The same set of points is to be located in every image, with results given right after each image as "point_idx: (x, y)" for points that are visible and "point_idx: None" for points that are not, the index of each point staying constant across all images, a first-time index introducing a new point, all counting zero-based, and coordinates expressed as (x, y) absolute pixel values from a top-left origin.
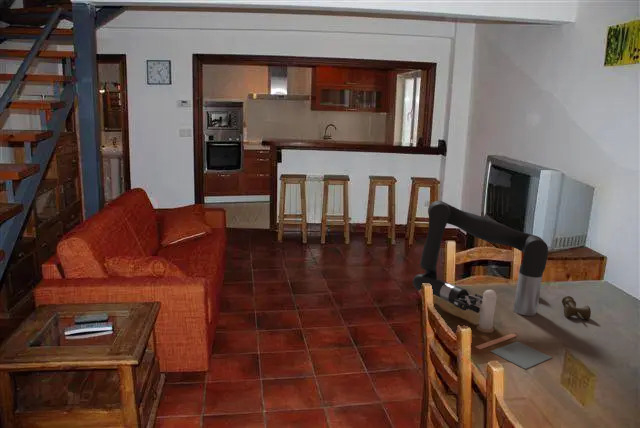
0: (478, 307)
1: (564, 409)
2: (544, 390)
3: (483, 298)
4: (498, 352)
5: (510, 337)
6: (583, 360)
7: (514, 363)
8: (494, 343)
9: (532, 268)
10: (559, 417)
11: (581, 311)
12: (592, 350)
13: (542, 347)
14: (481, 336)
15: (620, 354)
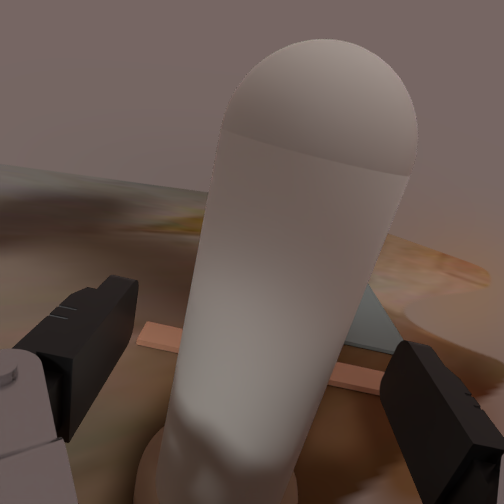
0: (423, 346)
1: (391, 242)
2: (384, 257)
3: (393, 216)
4: (384, 335)
5: None
6: (166, 215)
7: (375, 296)
8: (344, 363)
9: None
10: (417, 246)
11: None
12: (72, 200)
13: (173, 263)
14: (346, 452)
15: (52, 178)
